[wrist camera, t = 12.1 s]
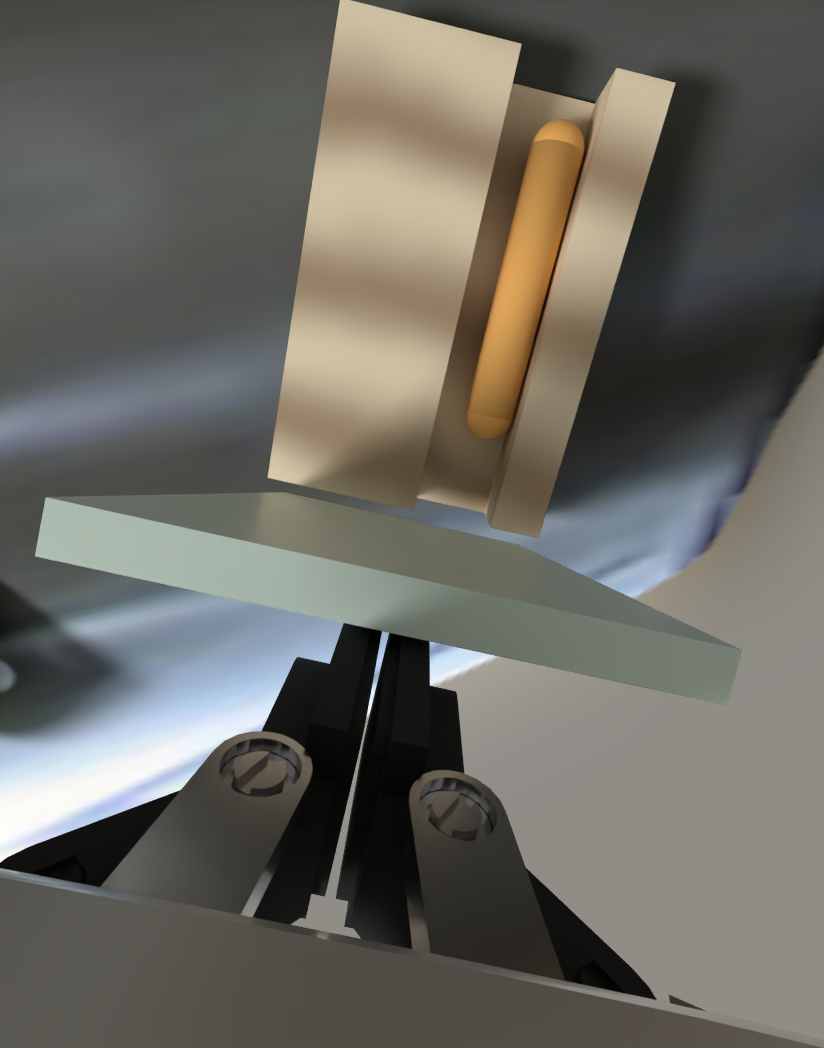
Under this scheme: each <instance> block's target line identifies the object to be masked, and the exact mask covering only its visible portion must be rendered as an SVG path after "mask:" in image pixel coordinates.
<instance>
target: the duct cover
mask: <svg viewBox="0 0 824 1048" xmlns="http://www.w3.org/2000/svg"><path fill="white" fill-rule="evenodd" d="M35 556H36V557H41V558H46V559H50V560H55V561H60V562H64V563H69V564H74V565H78V566H83V567H87V568H92V569H97V570H101V571H106V572H111V573H115V574H120V575H125V576H129V577H134V578H138V579H143V580H148V581H152V582H157V583H162V584H166V585H171V586H175V587H180V588H185V589H189V590H194V591H199V592H203V593H208V594H213V595H217V596H222V597H226V598H231V599H236V600H240V601H245V602H250V603H254V604H259V605H264V606H268V607H273V608H277V609H282V610H287V611H291V612H296V613H301V614H305V615H310V616H315V617H319V618H324V619H328V620H333V621H338V622H342V623H347V624H352V625H356V626H361V627H365V628H370V629H375V630H379V631H384V632H389V633H393V634H398V635H403V636H407V637H412V638H416V639H421V640H426V641H430V642H435V643H440V644H444V645H449V646H454V647H458V648H463V649H467V650H472V651H477V652H481V653H486V654H491V655H495V656H500V657H505V658H509V659H514V660H519V661H524V662H528V663H533V664H537V665H542V666H547V667H551V668H556V669H560V670H565V671H570V672H574V673H579V674H583V675H588V676H593V677H597V678H602V679H607V680H611V681H616V682H620V683H625V684H630V685H634V686H639V687H644V688H648V689H653V690H658V691H662V692H667V693H672V694H677V695H681V696H685V697H690V698H695V699H700V700H704V701H708V702H713V703H718V704H722V705H728V701H729V698H730V694H731V690H732V686H733V682H734V679H735V675H736V671H737V667H738V663H739V660H740V656H741V652H742V650H741V649H739V648H737V647H734V646H732V645H730V644H728V643H726V642H724V641H722V640H720V639H718V638H715V637H713V636H711V635H709V634H707V633H705V632H703V631H700V630H698V629H696V628H694V627H692V626H690V625H688V624H686V623H683V622H681V621H679V620H677V619H675V618H673V617H671V616H669V615H666V614H664V613H662V612H660V611H658V610H656V609H653V608H652V607H650V606H647V605H645V604H643V603H641V602H639V601H637V600H635V599H633V598H630V597H628V596H626V595H624V594H622V593H620V592H618V591H616V590H613V589H611V588H609V587H607V586H605V585H603V584H601V583H599V582H596V581H594V580H592V579H590V578H588V577H586V576H584V575H582V574H579V573H577V572H575V571H573V570H571V569H569V568H567V567H565V566H562V565H560V564H558V563H556V562H554V561H552V560H550V559H548V558H545V557H543V556H541V555H539V554H537V553H535V552H533V551H531V550H528V549H526V548H524V547H522V546H520V545H518V544H514V543H509V542H505V541H500V540H496V539H492V538H487V537H483V536H478V535H474V534H469V533H465V532H460V531H456V530H451V529H447V528H442V527H438V526H433V525H429V524H424V523H420V522H415V521H411V520H406V519H402V518H397V517H393V516H388V515H384V514H379V513H375V512H370V511H366V510H361V509H357V508H352V507H348V506H343V505H339V504H334V503H330V502H325V501H321V500H317V499H312V498H308V497H303V496H299V495H294V494H290V493H285V492H282V493H233V494H183V495H134V496H85V497H46V499H45V505H44V510H43V516H42V521H41V527H40V532H39V537H38V543H37V548H36V554H35Z"/></svg>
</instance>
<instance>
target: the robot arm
mask: <svg viewBox="0 0 824 1048" xmlns="http://www.w3.org/2000/svg"><path fill="white" fill-rule="evenodd" d="M381 634H382V631H379V630H375V629H370V628H365V627H361V626H356V625H352V624H347V623H344V624H343V627H342V630H341V633H340V636H339V639H338V642H337V645H336V648H335V651H334V653H333V656H332V659H331V662H330V664H327V663H323V662H318V661H314V660H309V659H305V658H300V657H297V658H296V660H295V661H294V663H293V666H292V668H291V670H290V672H289V674H288V676H287V678H286V680H285V683H284V685H283V687H282V689H281V691H280V693H279V695H278V697H277V700H276V702H275V704H274V706H273V708H272V710H271V712H270V714H269V717H268V719H267V721H266V723H265V725H264V727H263V729H262V731H261V732H248V733H244V734H239V735H236V736H234V737H232V738H230V739H228V740H226V741H224V742H223V743H222V744H221V745H219V746H218V747H217V748H216V749H215V750H214V751H213V752H212V753H211V755H210V756H209V757H208V758H207V759H206V761H205V762H204V763H203V764H202V765H201V767H200V768H199V769H198V770H197V771H196V773H195V774H194V775H193V776H192V777H191V779H190V780H189V781H188V782H187V783H186V785H185V786H184V787H183V788H182V789H181V790H180V791H177V792H174V793H172V794H169V795H166V796H164V797H161V798H158V799H156V800H153V801H150V802H148V803H145V804H142V805H140V806H137V807H134V808H132V809H129V810H126V811H124V812H121V813H118V814H116V815H113V816H110V817H107V818H105V819H102V820H99V821H97V822H94V823H91V824H89V825H86V826H83V827H81V828H78V829H75V830H73V831H70V832H67V833H65V834H62V835H59V836H57V837H54V838H51V839H49V840H46V841H43V842H41V843H38V844H35V845H33V846H30V847H28V848H26V849H24V850H22V851H20V852H18V853H16V854H13V855H11V856H9V857H7V858H6V859H5V860H3V861H2V862H1V863H0V1048H824V1040H821V1039H817V1038H813V1037H810V1036H806V1035H802V1034H798V1033H794V1032H790V1031H786V1030H782V1029H778V1028H774V1027H771V1026H767V1025H763V1024H759V1023H755V1022H751V1021H747V1020H743V1019H739V1018H735V1017H730V1016H725V1015H720V1014H716V1013H711V1012H707V1011H705V1010H703V1009H701V1008H698V1007H696V1006H694V1005H692V1004H689V1003H687V1002H685V1001H682V1000H680V999H678V998H676V997H673V996H671V995H669V994H668V996H667V998H666V1000H665V1002H662V1001H657V1000H656V998H655V996H654V995H653V993H652V992H651V990H650V988H649V987H648V986H647V985H646V983H645V982H644V981H643V980H642V979H641V978H640V977H639V976H638V974H637V973H636V972H635V971H634V970H633V969H632V968H631V967H630V966H629V965H628V964H627V963H626V962H625V961H624V960H623V959H622V958H620V956H619V955H617V954H616V953H615V952H614V951H613V950H612V949H611V948H610V947H609V946H608V945H607V944H606V943H604V941H603V940H602V939H601V938H599V937H598V936H597V935H596V934H595V933H594V932H593V931H592V930H591V929H590V928H589V927H588V926H587V925H586V924H585V923H584V922H583V921H582V920H580V919H579V918H578V917H577V916H576V915H575V914H574V913H573V912H572V911H571V910H570V909H569V908H568V907H567V906H566V905H565V904H564V903H563V902H561V901H560V900H559V899H558V898H557V897H556V896H555V895H554V894H553V893H552V892H551V891H550V890H549V889H548V888H547V887H545V885H543V884H542V883H541V882H540V881H539V880H538V879H537V878H536V877H535V876H534V875H533V874H532V873H531V872H530V871H529V870H528V869H527V868H526V867H525V865H524V862H523V859H522V856H521V853H520V851H519V848H518V845H517V842H516V839H515V836H514V834H513V831H512V828H511V825H510V822H509V819H508V817H507V814H506V811H505V809H504V807H503V805H502V803H501V801H500V800H499V798H498V797H497V796H496V795H495V794H494V793H493V792H492V791H491V789H490V788H488V787H487V786H486V785H484V784H482V783H481V782H480V781H479V780H477V779H475V778H473V777H471V776H468V775H466V774H464V765H463V755H462V743H461V732H460V722H459V711H458V701H457V694H456V692H455V691H451V690H447V689H442V688H438V687H433V686H430V660H429V641H426V640H421V639H416V638H412V637H407V636H403V635H398V634H393V633H389V636H388V640H387V645H386V649H385V653H384V657H383V661H382V666H381V670H380V674H379V678H378V682H377V687H376V691H375V695H374V699H373V703H372V708H371V712H370V716H369V720H368V725H367V729H366V733H365V738H364V742H363V747H362V753H361V759H360V764H359V770H358V776H357V781H356V787H355V792H354V798H353V804H352V809H351V815H350V821H349V826H348V832H347V838H346V843H345V849H344V855H343V860H342V866H341V872H340V878H339V883H338V889H337V895H336V899H340V900H345V901H348V907H347V913H346V920H345V927H349V928H354V929H355V931H356V932H357V933H358V935H359V936H360V938H361V939H358V938H353V937H349V936H343V935H339V934H334V933H328V932H324V931H319V930H314V929H308V928H303V927H299V926H294V925H290V924H292V923H293V922H295V921H296V920H298V919H299V918H305V919H306V914H307V910H308V906H309V901H310V896H311V894H316V895H320V896H325V894H326V890H327V885H328V881H329V877H330V873H331V868H332V864H333V860H334V856H335V852H336V847H337V843H338V839H339V834H340V830H341V826H342V822H343V818H344V814H345V809H346V805H347V801H348V797H349V792H350V788H351V784H352V780H353V775H354V771H355V767H356V763H357V758H358V754H359V750H360V746H361V741H362V736H363V731H364V727H365V722H366V716H367V711H368V705H369V700H370V694H371V689H372V683H373V678H374V672H375V667H376V661H377V656H378V650H379V645H380V639H381Z"/></svg>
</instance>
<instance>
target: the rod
mask: <svg viewBox="0 0 824 1048" xmlns="http://www.w3.org/2000/svg"><path fill="white" fill-rule="evenodd" d="M583 154H584V140H583V135H582V133H581V131H580V129H579V128H578V127H577V126H576V125H575V124H574V123H572V122H571V121H569V120H565V119H557V120H553V121H551V122H549V123H547V124H545V125H544V126H543V127H542V128H541V129H540V130H539V131H538V132H537V134H536V135H535V137H534V139H533V141H532V144H531V147H530V151H529V155H528V159H527V163H526V168H525V172H524V176H523V180H522V184H521V188H520V192H519V196H518V200H517V204H516V208H515V213H514V217H513V221H512V225H511V229H510V233H509V237H508V241H507V245H506V249H505V253H504V258H503V262H502V266H501V270H500V274H499V278H498V282H497V286H496V290H495V294H494V298H493V303H492V307H491V311H490V315H489V319H488V323H487V327H486V331H485V335H484V339H483V343H482V348H481V352H480V356H479V360H478V364H477V368H476V372H475V376H474V380H473V384H472V388H471V393H470V397H469V401H468V405H467V409H466V422H467V425H468V427H469V429H470V430H471V432H472V433H473V434H475V435H476V436H478V437H480V438H483V439H494V438H497V437H499V436H501V435H502V434H504V433H505V432H506V431H507V430H508V428H509V427H510V425H511V422H512V419H513V415H514V411H515V408H516V404H517V400H518V397H519V393H520V389H521V385H522V382H523V378H524V374H525V371H526V367H527V363H528V359H529V356H530V352H531V348H532V344H533V341H534V337H535V333H536V330H537V326H538V322H539V318H540V315H541V311H542V307H543V304H544V300H545V296H546V292H547V289H548V285H549V281H550V278H551V274H552V270H553V266H554V263H555V259H556V255H557V251H558V248H559V244H560V240H561V237H562V233H563V229H564V225H565V222H566V218H567V214H568V211H569V207H570V203H571V199H572V196H573V192H574V188H575V185H576V181H577V177H578V173H579V170H580V166H581V162H582V159H583Z"/></svg>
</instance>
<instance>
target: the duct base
mask: <svg viewBox="0 0 824 1048" xmlns="http://www.w3.org/2000/svg"><path fill="white" fill-rule="evenodd" d="M521 45H522V44H520V43H516V42H513V41H509V40H505V39H501V38H497V37H493V36H489V35H485V34H481V33H477V32H473V31H469V30H465V29H461V28H457V27H453V26H449V25H445V24H442V23H438V22H434V21H430V20H426V19H422V18H418V17H414V16H410V15H406V14H402V13H398V12H394V11H390V10H386V9H382V8H378V7H374V6H371V5H367V4H363V3H359V2H355V1H351V0H340V4H339V11H338V17H337V24H336V30H335V37H334V44H333V50H332V57H331V63H330V70H329V77H328V83H327V90H326V96H325V103H324V110H323V116H322V123H321V129H320V136H319V143H318V149H317V156H316V162H315V169H314V176H313V182H312V189H311V195H310V202H309V209H308V215H307V222H306V228H305V235H304V242H303V248H302V255H301V262H300V268H299V275H298V281H297V288H296V295H295V301H294V308H293V314H292V321H291V328H290V334H289V341H288V347H287V354H286V361H285V367H284V374H283V380H282V387H281V394H280V400H279V407H278V413H277V420H276V427H275V433H274V440H273V446H272V453H271V460H270V466H269V473H268V478H271V479H276V480H280V481H285V482H289V483H294V484H298V485H303V486H307V487H312V488H316V489H321V490H325V491H330V492H334V493H338V494H343V495H347V496H352V497H356V498H361V499H365V500H370V501H374V502H379V503H383V504H388V505H392V506H397V507H401V508H406V509H410V510H414V508H415V503H416V499H417V498H421V499H425V500H429V501H434V502H438V503H443V504H447V505H452V506H456V507H461V508H465V509H470V510H474V511H479V512H483V513H485V515H486V517H487V520H488V522H489V525H490V527H491V528H495V529H500V530H504V531H508V532H513V533H517V534H522V535H526V536H531V537H535V538H539V535H540V531H541V528H542V525H543V521H544V518H545V515H546V511H547V508H548V505H549V501H550V498H551V495H552V491H553V488H554V485H555V481H556V478H557V475H558V471H559V468H560V465H561V462H562V458H563V455H564V452H565V448H566V445H567V442H568V438H569V435H570V432H571V428H572V425H573V422H574V418H575V415H576V412H577V408H578V405H579V402H580V399H581V395H582V392H583V389H584V385H585V382H586V379H587V375H588V372H589V369H590V365H591V362H592V359H593V355H594V352H595V349H596V345H597V342H598V339H599V335H600V332H601V329H602V326H603V322H604V319H605V316H606V312H607V309H608V306H609V302H610V299H611V296H612V292H613V289H614V286H615V282H616V279H617V276H618V272H619V269H620V266H621V263H622V259H623V256H624V253H625V249H626V246H627V243H628V239H629V236H630V233H631V229H632V226H633V223H634V219H635V216H636V213H637V209H638V206H639V203H640V199H641V196H642V193H643V190H644V186H645V183H646V180H647V176H648V173H649V170H650V166H651V163H652V160H653V156H654V153H655V150H656V146H657V143H658V140H659V136H660V133H661V130H662V127H663V123H664V120H665V117H666V113H667V110H668V107H669V103H670V100H671V97H672V93H673V90H674V87H675V83H674V82H670V81H666V80H662V79H659V78H655V77H651V76H647V75H643V74H639V73H635V72H631V71H627V70H623V69H619V68H616V70H615V72H614V73H613V75H612V77H611V78H610V80H609V81H608V83H607V85H606V86H605V88H604V90H603V91H602V93H601V94H600V96H599V98H598V99H597V101H596V103H595V104H593V103H589V102H585V101H581V100H577V99H573V98H569V97H565V96H561V95H557V94H553V93H550V92H546V91H542V90H538V89H534V88H530V87H526V86H522V85H518V84H514V83H513V79H514V75H515V71H516V66H517V62H518V58H519V53H520V49H521ZM557 119H565V120H569V121H571V122H572V123H574V124H575V125H576V126H577V127H578V128H579V129H580V131H581V133H582V135H583V140H584V154H583V159H582V162H581V166H580V170H579V173H578V177H577V181H576V185H575V188H574V192H573V196H572V199H571V203H570V207H569V211H568V214H567V218H566V222H565V225H564V229H563V233H562V237H561V240H560V244H559V248H558V251H557V255H556V259H555V263H554V266H553V270H552V274H551V278H550V281H549V285H548V289H547V292H546V296H545V300H544V304H543V307H542V311H541V315H540V318H539V322H538V326H537V330H536V333H535V337H534V341H533V344H532V348H531V352H530V356H529V359H528V363H527V367H526V371H525V374H524V378H523V382H522V385H521V389H520V393H519V397H518V400H517V404H516V408H515V411H514V415H513V419H512V422H511V425H510V427H509V428H508V430H507V431H506V432H505V433H504V434H502V435H501V436H499V437H497V438H494V439H483V438H480V437H478V436H476V435H475V434H473V433H472V432H471V430H470V429H469V427H468V425H467V422H466V409H467V405H468V401H469V397H470V393H471V388H472V384H473V380H474V376H475V372H476V368H477V364H478V360H479V356H480V352H481V348H482V343H483V339H484V335H485V331H486V327H487V323H488V319H489V315H490V311H491V307H492V303H493V298H494V294H495V290H496V286H497V282H498V278H499V274H500V270H501V266H502V262H503V258H504V253H505V249H506V245H507V241H508V237H509V233H510V229H511V225H512V221H513V217H514V213H515V208H516V204H517V200H518V196H519V192H520V188H521V184H522V180H523V176H524V172H525V168H526V163H527V159H528V155H529V151H530V147H531V144H532V141H533V139H534V137H535V135H536V134H537V132H538V131H539V130H540V129H541V128H542V127H543V126H544V125H545V124H547V123H549V122H551V121H553V120H557Z"/></svg>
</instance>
